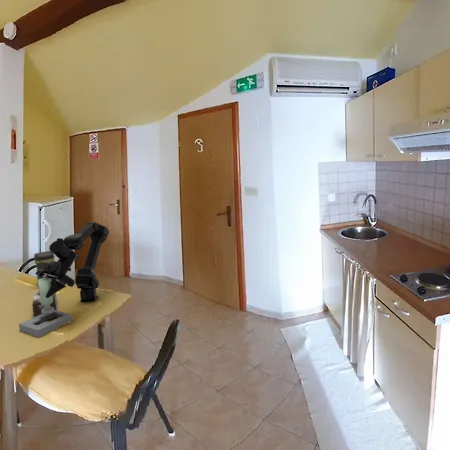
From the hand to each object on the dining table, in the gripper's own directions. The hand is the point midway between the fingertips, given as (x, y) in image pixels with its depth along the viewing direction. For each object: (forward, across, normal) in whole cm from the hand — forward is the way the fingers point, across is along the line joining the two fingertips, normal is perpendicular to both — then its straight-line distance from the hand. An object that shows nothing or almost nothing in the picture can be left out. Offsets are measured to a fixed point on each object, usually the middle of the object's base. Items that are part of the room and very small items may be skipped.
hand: (43, 296), depth 137 cm
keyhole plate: (+9, +1, +8) cm, 12 cm away
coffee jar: (-12, -43, +29) cm, 53 cm away
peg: (+4, 0, +6) cm, 7 cm away
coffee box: (-4, -21, +16) cm, 27 cm away
